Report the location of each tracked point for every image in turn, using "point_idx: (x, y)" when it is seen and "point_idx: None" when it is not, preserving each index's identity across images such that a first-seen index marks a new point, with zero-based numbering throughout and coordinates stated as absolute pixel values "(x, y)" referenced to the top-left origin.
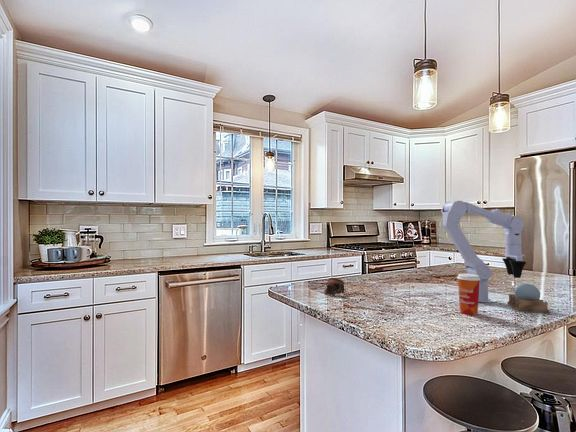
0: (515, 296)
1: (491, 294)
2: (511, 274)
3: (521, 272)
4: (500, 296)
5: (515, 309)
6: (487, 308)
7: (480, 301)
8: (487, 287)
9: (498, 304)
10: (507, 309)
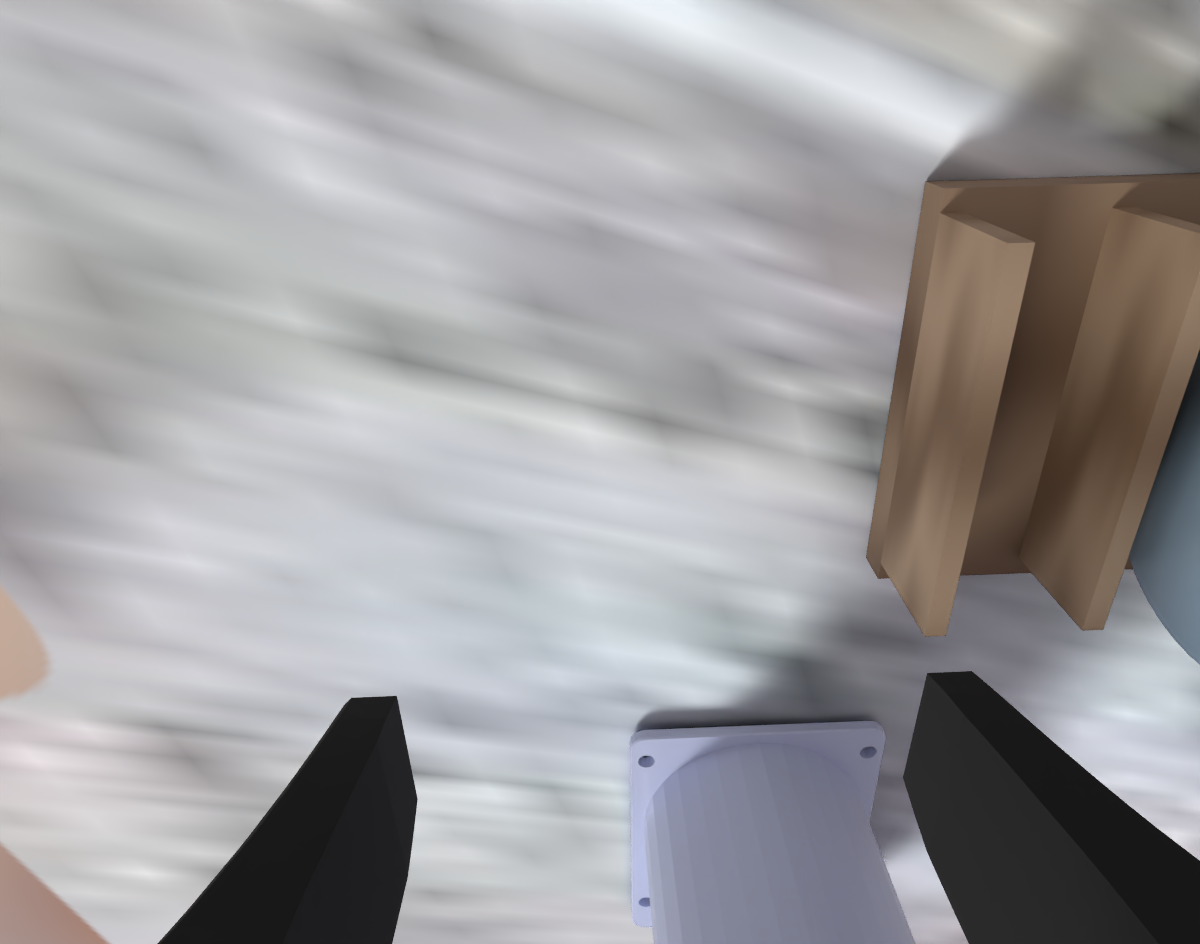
0: (1162, 606)
1: (253, 624)
2: (404, 753)
3: (1114, 796)
4: (353, 539)
5: None
6: (1141, 783)
7: (869, 815)
8: (881, 923)
9: (926, 659)
10: None
